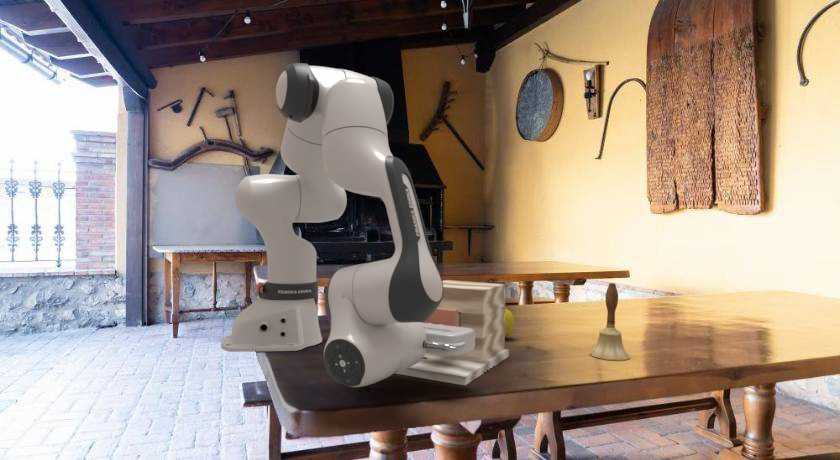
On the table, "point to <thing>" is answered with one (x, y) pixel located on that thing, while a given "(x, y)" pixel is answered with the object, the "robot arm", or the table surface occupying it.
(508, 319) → the lemon
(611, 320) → the hand bell
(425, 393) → the table surface
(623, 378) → the table surface
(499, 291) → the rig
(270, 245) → the robot arm
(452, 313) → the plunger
